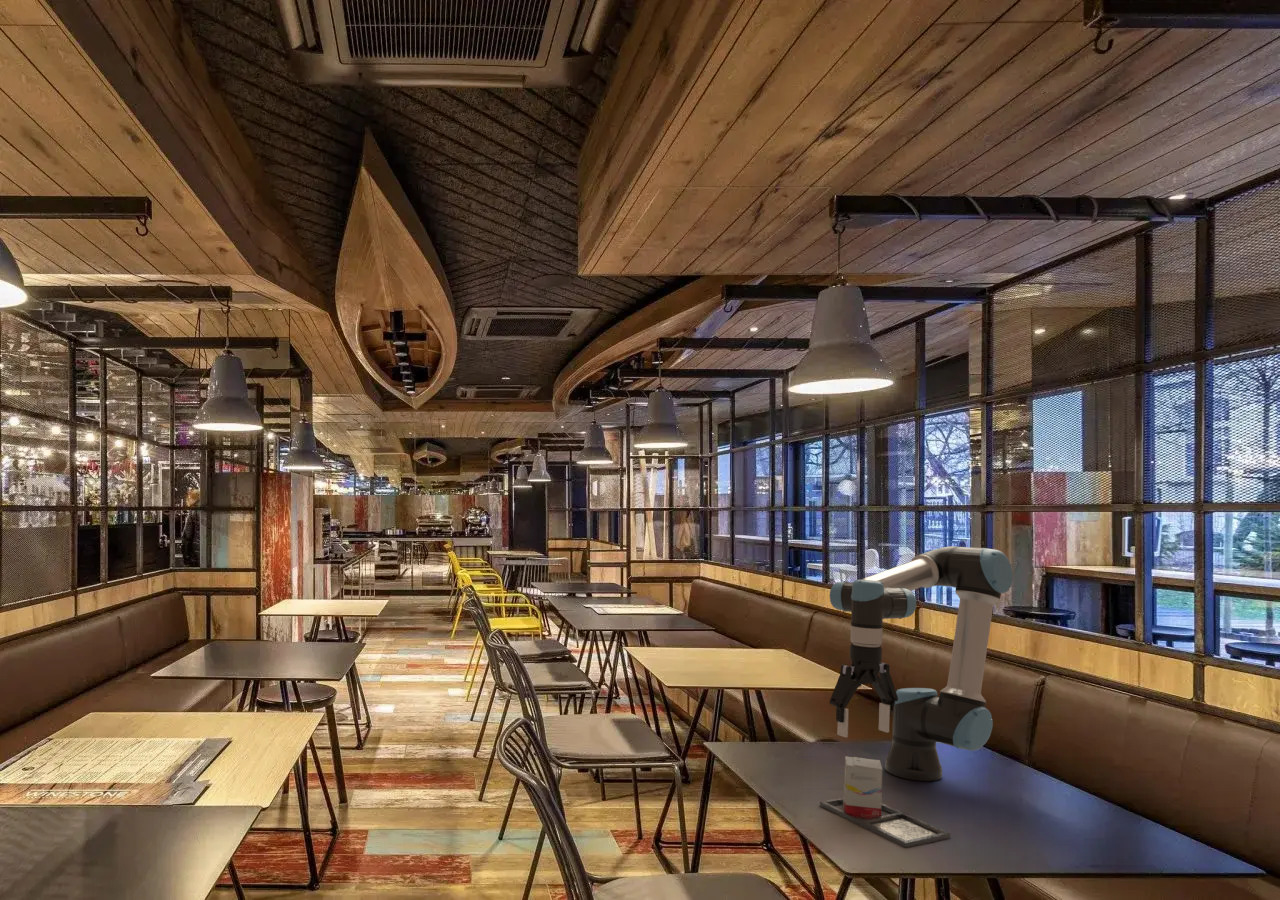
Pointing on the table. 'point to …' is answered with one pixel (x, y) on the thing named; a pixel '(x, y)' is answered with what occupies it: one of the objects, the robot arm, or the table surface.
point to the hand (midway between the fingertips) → (863, 733)
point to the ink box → (862, 787)
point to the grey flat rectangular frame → (893, 825)
